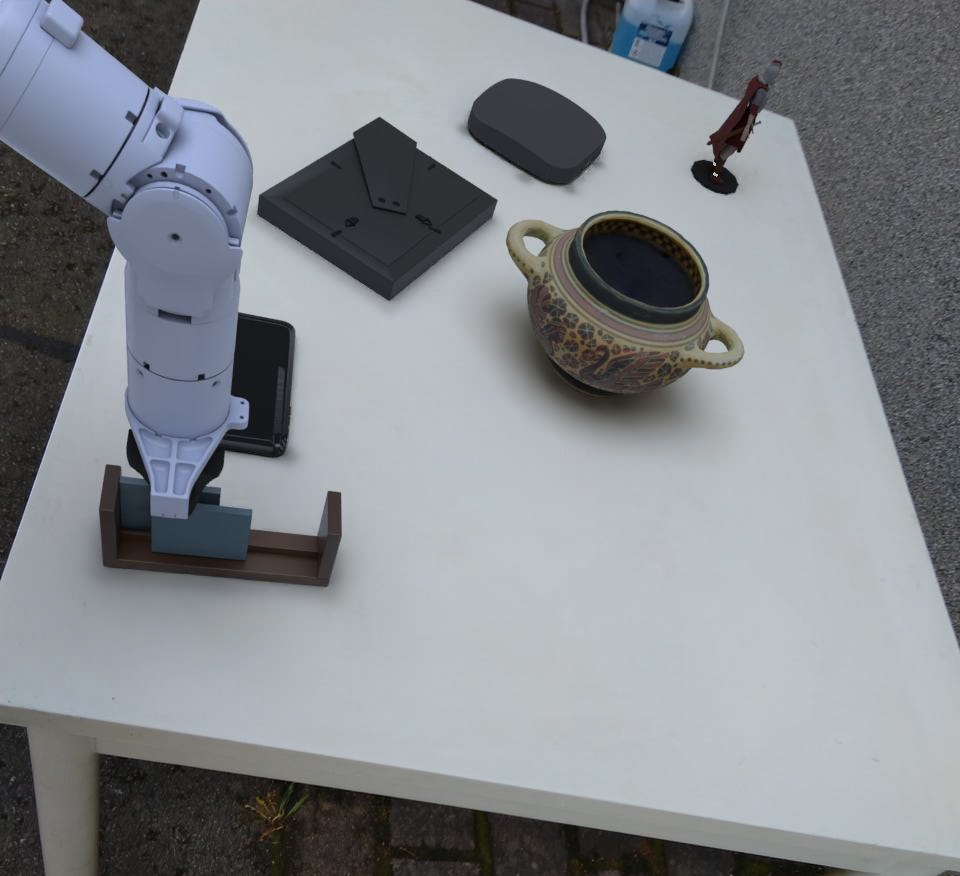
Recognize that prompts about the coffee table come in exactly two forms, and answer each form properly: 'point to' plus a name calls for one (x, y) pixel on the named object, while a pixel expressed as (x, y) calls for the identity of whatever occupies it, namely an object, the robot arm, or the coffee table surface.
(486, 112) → the media streaming box
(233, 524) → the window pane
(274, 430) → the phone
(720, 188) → the figurine
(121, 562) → the window frame
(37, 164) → the robot arm
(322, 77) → the coffee table surface
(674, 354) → the ceramic bowl
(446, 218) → the picture frame
